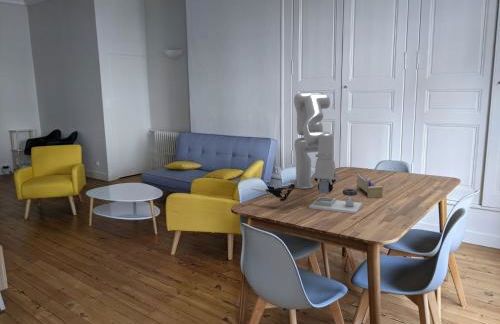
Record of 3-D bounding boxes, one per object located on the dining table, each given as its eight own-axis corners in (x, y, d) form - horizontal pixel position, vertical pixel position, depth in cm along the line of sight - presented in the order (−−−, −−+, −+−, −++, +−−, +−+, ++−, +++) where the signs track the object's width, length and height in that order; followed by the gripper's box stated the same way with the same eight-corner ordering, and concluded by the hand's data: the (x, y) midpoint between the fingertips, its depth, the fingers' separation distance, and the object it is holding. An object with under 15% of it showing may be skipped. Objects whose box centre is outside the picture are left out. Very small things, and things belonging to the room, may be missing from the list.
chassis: (309, 208, 201) (309, 197, 200) (318, 200, 215) (318, 190, 214) (356, 213, 190) (356, 202, 189) (362, 205, 204) (362, 194, 203)
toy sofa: (383, 197, 218) (383, 180, 216) (368, 198, 217) (368, 180, 216) (369, 188, 238) (370, 172, 237) (356, 189, 238) (356, 173, 236)
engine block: (318, 192, 202) (319, 180, 201) (322, 190, 207) (322, 177, 206) (328, 193, 200) (328, 180, 199) (331, 190, 205) (331, 178, 204)
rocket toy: (284, 190, 193) (244, 186, 204) (284, 202, 194) (244, 197, 205) (295, 184, 205) (257, 180, 217) (295, 195, 206) (257, 191, 218)
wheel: (341, 195, 197) (341, 191, 196) (344, 191, 203) (344, 188, 202) (355, 196, 194) (355, 192, 193) (357, 193, 199) (358, 189, 199)
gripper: (307, 157, 201) (307, 191, 204) (340, 158, 193) (339, 194, 196) (311, 155, 208) (311, 188, 211) (343, 156, 200) (343, 190, 203)
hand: (325, 190), depth 204 cm, fingers closed on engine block, 5 cm apart
